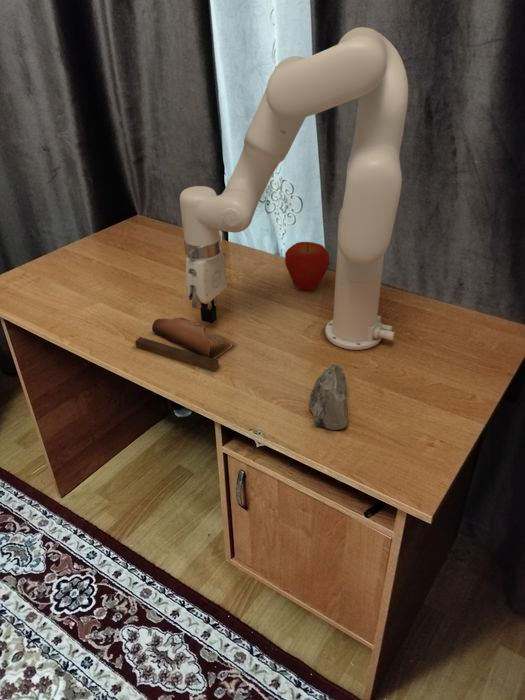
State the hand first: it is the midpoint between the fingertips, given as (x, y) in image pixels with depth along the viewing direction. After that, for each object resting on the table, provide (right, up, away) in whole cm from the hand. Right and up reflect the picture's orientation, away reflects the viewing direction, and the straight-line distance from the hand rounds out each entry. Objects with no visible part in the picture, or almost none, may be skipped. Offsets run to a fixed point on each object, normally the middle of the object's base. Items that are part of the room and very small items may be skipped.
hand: (209, 320), depth 132 cm
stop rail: (-6, -8, -9) cm, 14 cm away
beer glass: (-1, +18, +28) cm, 33 cm away
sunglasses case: (-3, -5, -4) cm, 7 cm away
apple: (+23, +9, +15) cm, 29 cm away
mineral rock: (+26, -18, -23) cm, 39 cm away
